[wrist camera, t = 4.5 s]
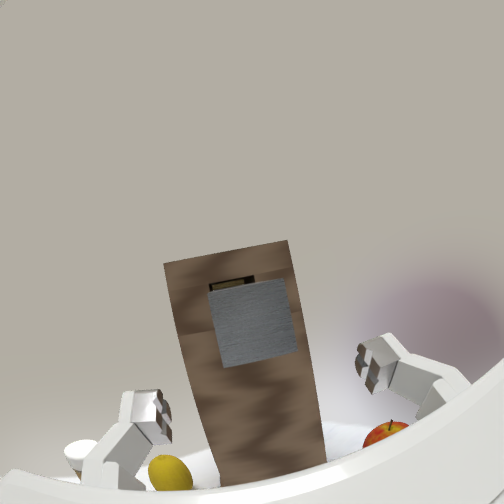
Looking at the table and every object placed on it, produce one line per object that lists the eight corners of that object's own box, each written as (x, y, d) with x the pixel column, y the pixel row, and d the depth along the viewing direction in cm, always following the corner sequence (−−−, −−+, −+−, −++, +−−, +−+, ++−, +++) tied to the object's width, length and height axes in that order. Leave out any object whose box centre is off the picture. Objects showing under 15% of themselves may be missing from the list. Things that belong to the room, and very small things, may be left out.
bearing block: (226, 543, 16) (132, 266, 19) (222, 476, 30) (167, 275, 33) (355, 510, 18) (318, 230, 21) (317, 454, 31) (279, 253, 35)
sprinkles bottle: (133, 512, 20) (90, 434, 22) (153, 527, 18) (107, 447, 19) (107, 524, 16) (57, 445, 18) (126, 542, 14) (70, 461, 15)
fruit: (374, 491, 20) (374, 445, 21) (355, 463, 27) (352, 419, 28) (424, 467, 20) (429, 419, 21) (400, 444, 27) (400, 399, 28)
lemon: (178, 481, 28) (160, 441, 29) (207, 491, 26) (190, 450, 27) (153, 499, 24) (131, 458, 24) (182, 513, 21) (160, 472, 22)
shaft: (223, 368, 10) (207, 293, 10) (221, 313, 34) (216, 289, 35) (297, 351, 11) (283, 277, 11) (244, 308, 35) (239, 285, 35)
